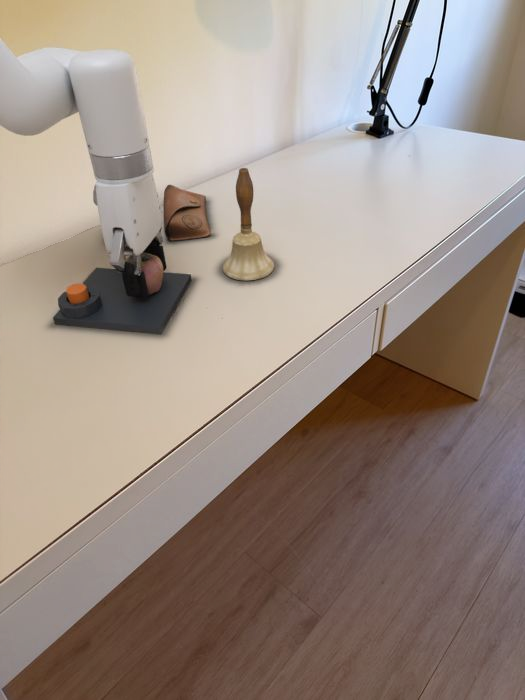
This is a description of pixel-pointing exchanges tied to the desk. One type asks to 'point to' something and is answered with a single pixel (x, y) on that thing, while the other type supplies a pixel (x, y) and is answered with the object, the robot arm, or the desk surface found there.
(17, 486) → the desk surface
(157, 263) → the apple
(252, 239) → the hand bell
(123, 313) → the scale
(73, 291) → the button
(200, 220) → the sunglasses case
